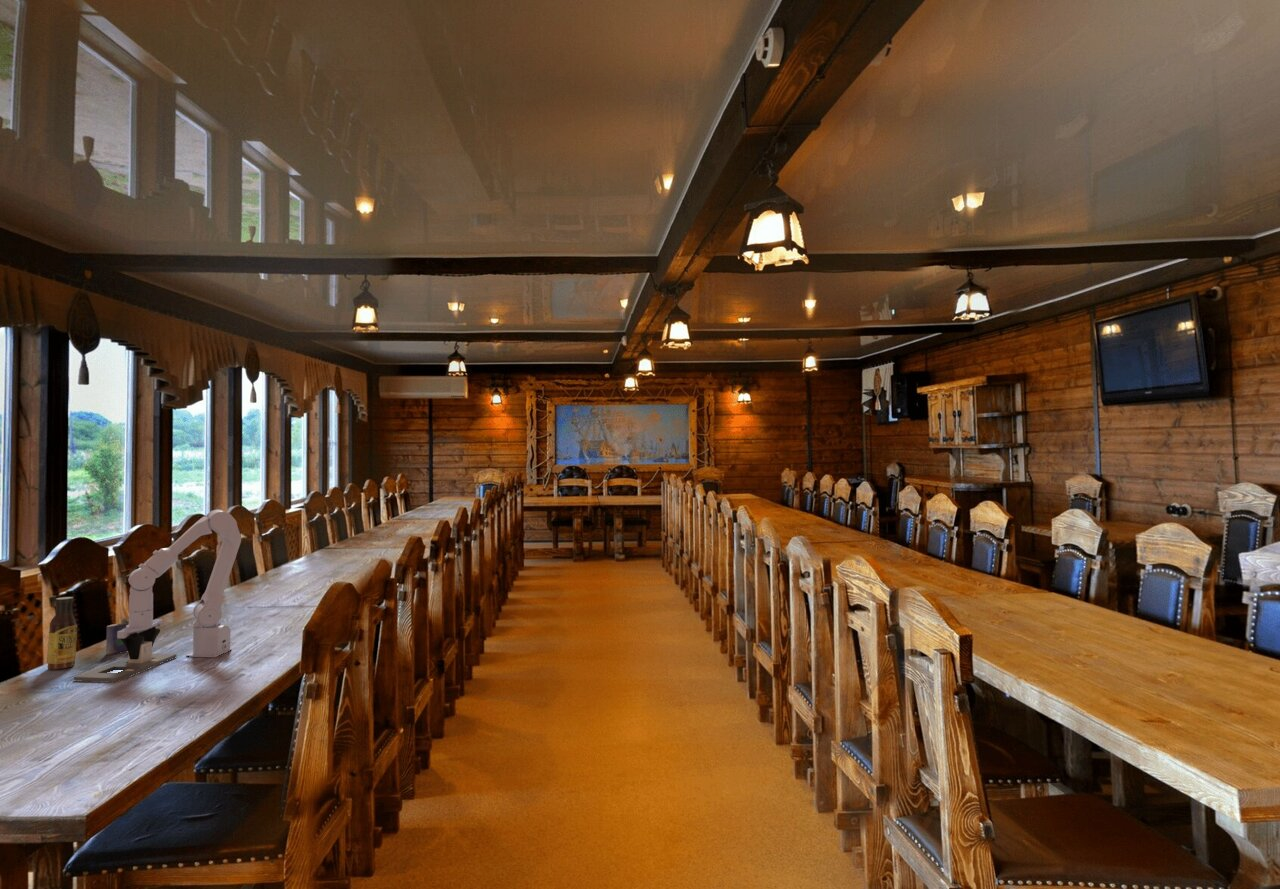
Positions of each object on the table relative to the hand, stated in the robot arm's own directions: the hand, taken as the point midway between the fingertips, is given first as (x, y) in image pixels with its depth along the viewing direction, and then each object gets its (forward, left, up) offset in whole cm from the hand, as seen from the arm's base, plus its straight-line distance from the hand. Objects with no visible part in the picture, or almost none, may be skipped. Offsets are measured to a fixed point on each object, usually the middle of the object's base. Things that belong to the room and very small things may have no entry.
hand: (140, 656), depth 201 cm
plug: (0, 0, -2) cm, 2 cm away
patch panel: (0, +5, -2) cm, 5 cm away
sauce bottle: (+20, +5, -2) cm, 21 cm away
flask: (+15, -11, -2) cm, 19 cm away
